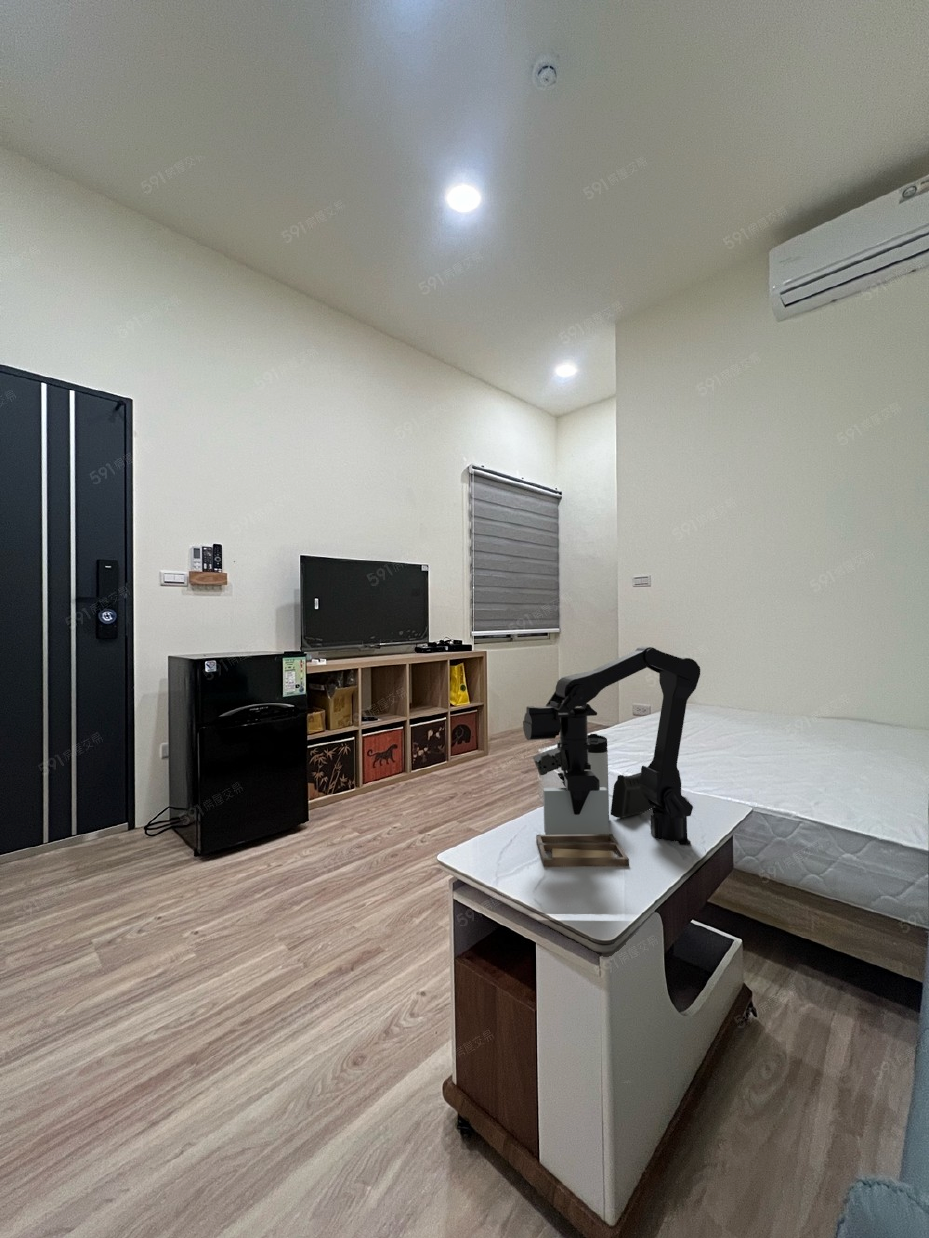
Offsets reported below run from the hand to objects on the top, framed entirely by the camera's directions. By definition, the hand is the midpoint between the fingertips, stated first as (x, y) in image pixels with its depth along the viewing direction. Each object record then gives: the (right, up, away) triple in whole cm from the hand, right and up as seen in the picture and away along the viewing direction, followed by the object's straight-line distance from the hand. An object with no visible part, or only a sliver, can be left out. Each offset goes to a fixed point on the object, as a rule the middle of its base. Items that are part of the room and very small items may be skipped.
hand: (575, 812), depth 107 cm
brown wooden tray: (0, -8, -4) cm, 8 cm away
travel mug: (+8, -8, +16) cm, 20 cm away
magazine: (+24, -8, +25) cm, 35 cm away
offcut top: (0, -7, -6) cm, 9 cm away
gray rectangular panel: (0, -4, 0) cm, 4 cm away
